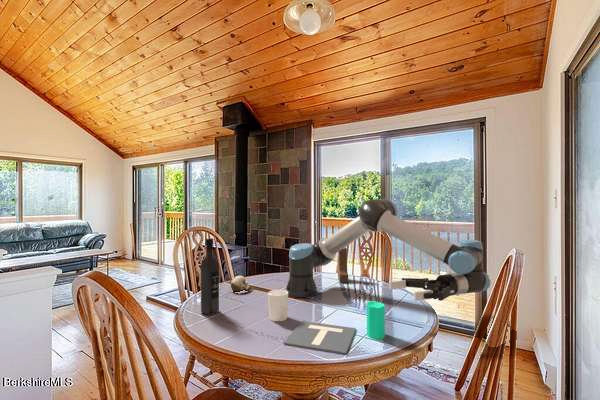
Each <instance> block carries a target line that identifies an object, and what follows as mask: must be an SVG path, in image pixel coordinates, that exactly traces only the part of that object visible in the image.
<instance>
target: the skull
mask: <svg viewBox="0 0 600 400" xmlns="http://www.w3.org/2000/svg"><path fill="white" fill-rule="evenodd" d="M231 288H232V290H233V292H232V293H234V292H240V291H243V290H245V291H248V293H250V292H251V291H253V289H254V288H253V287H252V286H250V285H249V282H248V281H247V279H246V277H244V276H242V275H237V276H235V277H234V278H233V279H232V280H231V281H230V289H231ZM249 291H250V292H249Z"/></svg>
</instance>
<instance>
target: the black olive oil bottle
mask: <svg viewBox="0 0 600 400" xmlns="http://www.w3.org/2000/svg"><path fill="white" fill-rule="evenodd" d="M205 249H206V250H205V252H206V253H205V257H204V258H203V259H202V260H201V262H200V263H201V264H200V313H201V312H202V313H201V314H203V313H205V315H207V314H212V315H213V313H214V314H216V313H218V312H219V311H220V280H219V279H220V276H219V275H220V272H219V271H220V270H219V269H220V267H219V266H220V265H219V260H218V258H217V257H216V256H214V238H206V239H205ZM217 311H218V312H217ZM215 312H216V313H215Z"/></svg>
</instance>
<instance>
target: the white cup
mask: <svg viewBox="0 0 600 400" xmlns="http://www.w3.org/2000/svg"><path fill="white" fill-rule="evenodd" d="M267 300H268V301H267V303H268V312H269V313H268V315H269V320H270V321H272V322H276V321H277V322H279V321H280V322H283V321H284V322H285V321H286V320H287V319H288V311H289V308H288V307H289V306H288V305H289V295H288V291H286V289H272V290H269V291H268V292H267ZM277 322H276V323H277Z"/></svg>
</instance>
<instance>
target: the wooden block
mask: <svg viewBox="0 0 600 400" xmlns="http://www.w3.org/2000/svg"><path fill="white" fill-rule="evenodd" d="M337 255H338V258H337V260H338V261H337V262H338V264H337V265H338V268H337V269H338V274H337V275H338V280H339V283H341V284H345V283H346V284H348V283H349V273H348V249H347V246H346V247H345V248H343V249H342V250H340V251H339V252H337Z"/></svg>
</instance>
